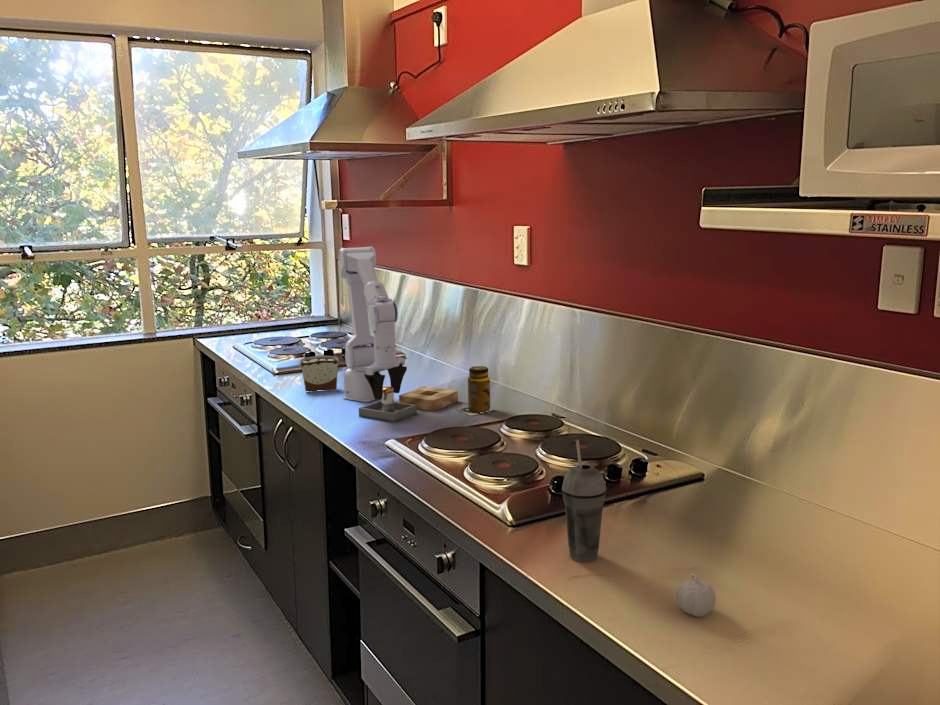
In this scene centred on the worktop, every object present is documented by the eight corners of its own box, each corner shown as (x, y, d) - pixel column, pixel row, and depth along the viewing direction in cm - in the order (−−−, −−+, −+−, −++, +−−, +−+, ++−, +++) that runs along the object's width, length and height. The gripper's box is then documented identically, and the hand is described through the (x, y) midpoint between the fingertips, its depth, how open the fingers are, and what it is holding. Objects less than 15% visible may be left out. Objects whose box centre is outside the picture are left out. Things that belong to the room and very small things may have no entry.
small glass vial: (379, 413, 218) (378, 388, 216) (386, 410, 221) (385, 386, 219) (389, 415, 216) (388, 390, 215) (397, 412, 219) (396, 387, 218)
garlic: (676, 599, 118) (677, 566, 117) (715, 603, 116) (716, 570, 115) (674, 619, 112) (675, 585, 111) (715, 624, 111) (716, 590, 110)
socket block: (399, 405, 228) (398, 395, 227) (424, 396, 238) (423, 386, 237) (434, 411, 221) (433, 400, 221) (458, 401, 231) (457, 390, 231)
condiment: (496, 411, 220) (496, 368, 218) (471, 416, 216) (470, 372, 213) (481, 405, 226) (480, 363, 224) (456, 410, 222) (455, 368, 219)
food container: (338, 385, 254) (336, 354, 252) (341, 389, 248) (339, 357, 246) (298, 388, 250) (296, 357, 248) (301, 393, 244) (298, 361, 242)
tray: (358, 416, 218) (358, 408, 217) (382, 407, 226) (381, 399, 226) (394, 422, 211) (393, 413, 211) (416, 413, 220) (416, 405, 219)
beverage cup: (613, 562, 130) (615, 443, 126) (572, 569, 128) (572, 448, 124) (594, 544, 137) (595, 430, 133) (554, 550, 135) (554, 435, 131)
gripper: (379, 352, 207) (381, 403, 209) (413, 343, 219) (415, 391, 221) (358, 350, 211) (360, 400, 213) (392, 341, 223) (394, 388, 225)
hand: (387, 395), depth 218 cm, fingers open, 7 cm apart
